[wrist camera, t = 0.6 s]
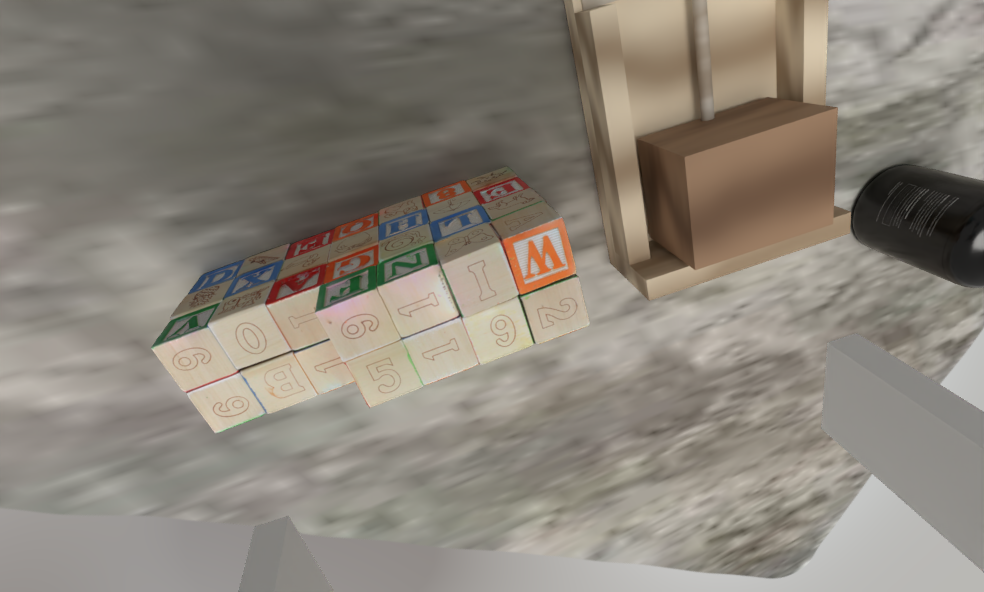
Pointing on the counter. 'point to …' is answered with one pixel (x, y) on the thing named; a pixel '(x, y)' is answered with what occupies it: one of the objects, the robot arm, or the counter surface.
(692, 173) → the brown teal long piece
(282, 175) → the counter surface
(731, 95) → the lane board
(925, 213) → the supplement bottle
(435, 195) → the stack of blocks
